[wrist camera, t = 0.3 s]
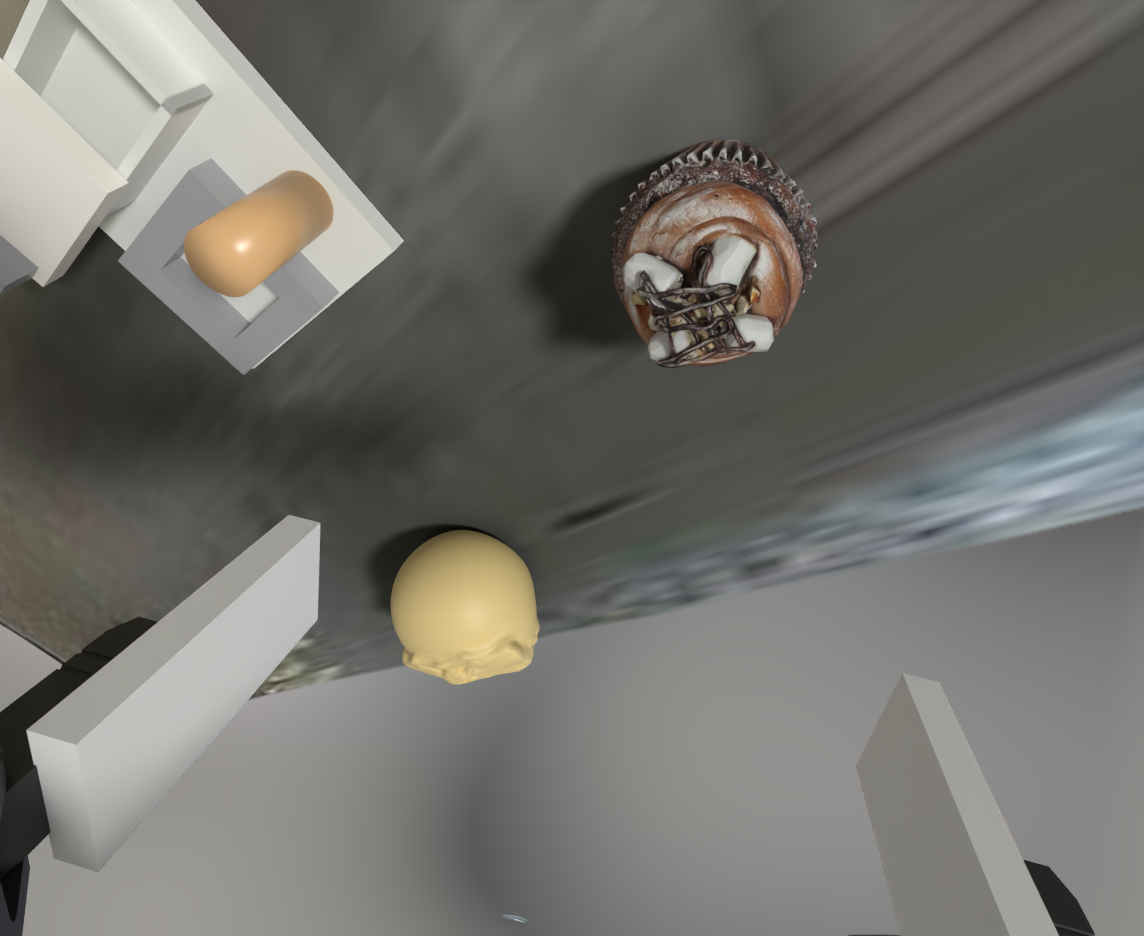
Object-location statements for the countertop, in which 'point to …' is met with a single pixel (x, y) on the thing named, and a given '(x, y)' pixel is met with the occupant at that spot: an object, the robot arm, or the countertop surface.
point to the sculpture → (465, 608)
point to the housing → (203, 169)
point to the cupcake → (713, 254)
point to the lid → (45, 187)
